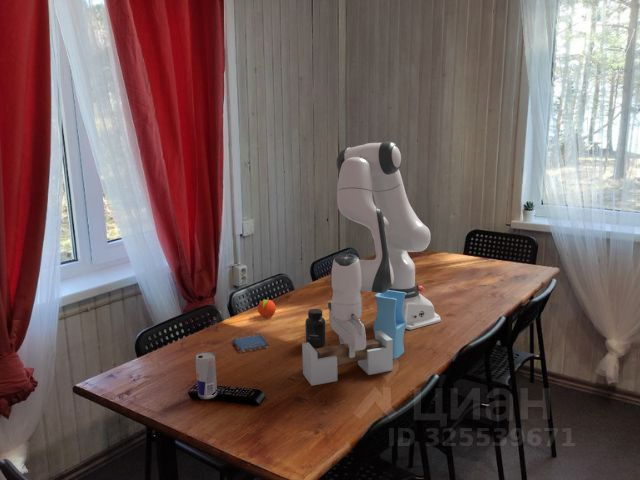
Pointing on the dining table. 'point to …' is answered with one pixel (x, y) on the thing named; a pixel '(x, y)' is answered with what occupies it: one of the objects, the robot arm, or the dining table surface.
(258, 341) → the woven mat
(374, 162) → the robot arm
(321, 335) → the supplement bottle
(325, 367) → the post
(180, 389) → the dining table surface
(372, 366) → the post
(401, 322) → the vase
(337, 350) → the rail
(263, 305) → the clementine
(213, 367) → the energy drink
